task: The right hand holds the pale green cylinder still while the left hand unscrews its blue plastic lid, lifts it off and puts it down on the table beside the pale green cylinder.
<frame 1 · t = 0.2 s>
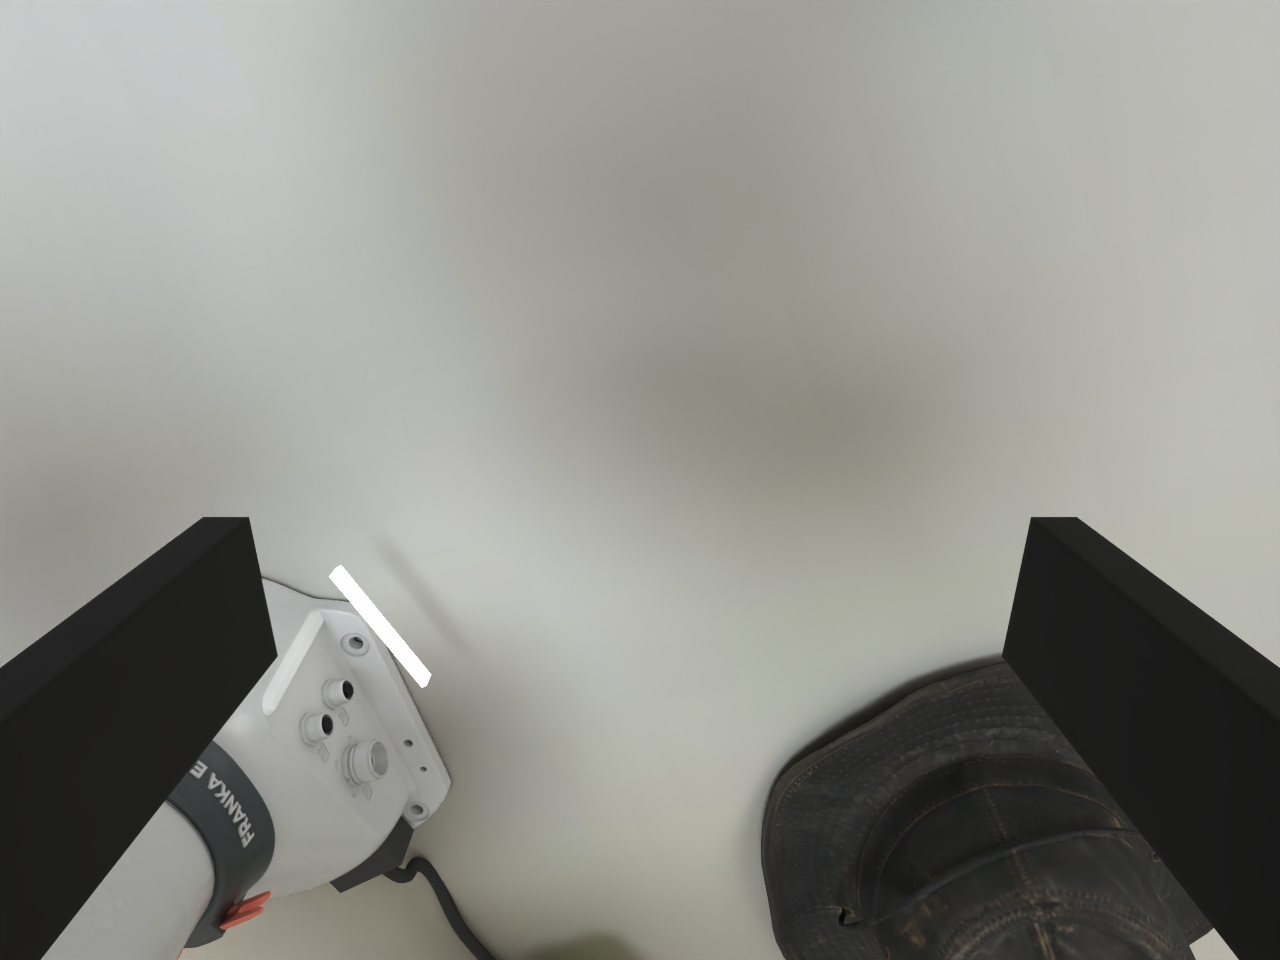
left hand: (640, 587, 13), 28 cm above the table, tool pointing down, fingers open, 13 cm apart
hat: (987, 860, 52), on the table
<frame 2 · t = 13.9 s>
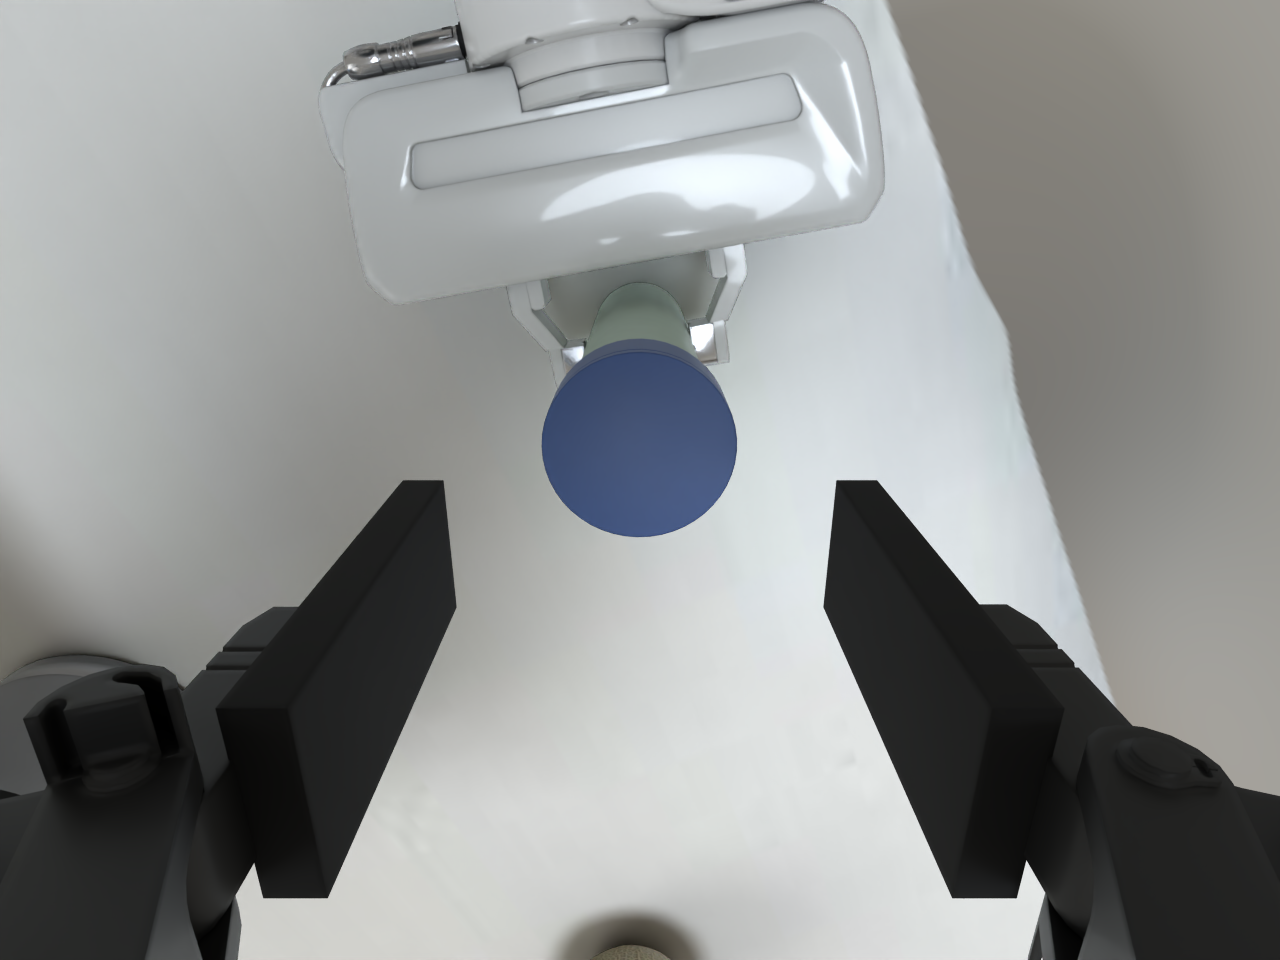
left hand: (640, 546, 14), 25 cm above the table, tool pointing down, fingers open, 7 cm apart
right hand: (644, 374, 32), fingers closed on pale green cylinder, 4 cm apart
lid: (639, 445, 20), point 18 cm above the table, screwed on, not yet turned
pale green cylinder: (640, 328, 37), on the table, touching right hand
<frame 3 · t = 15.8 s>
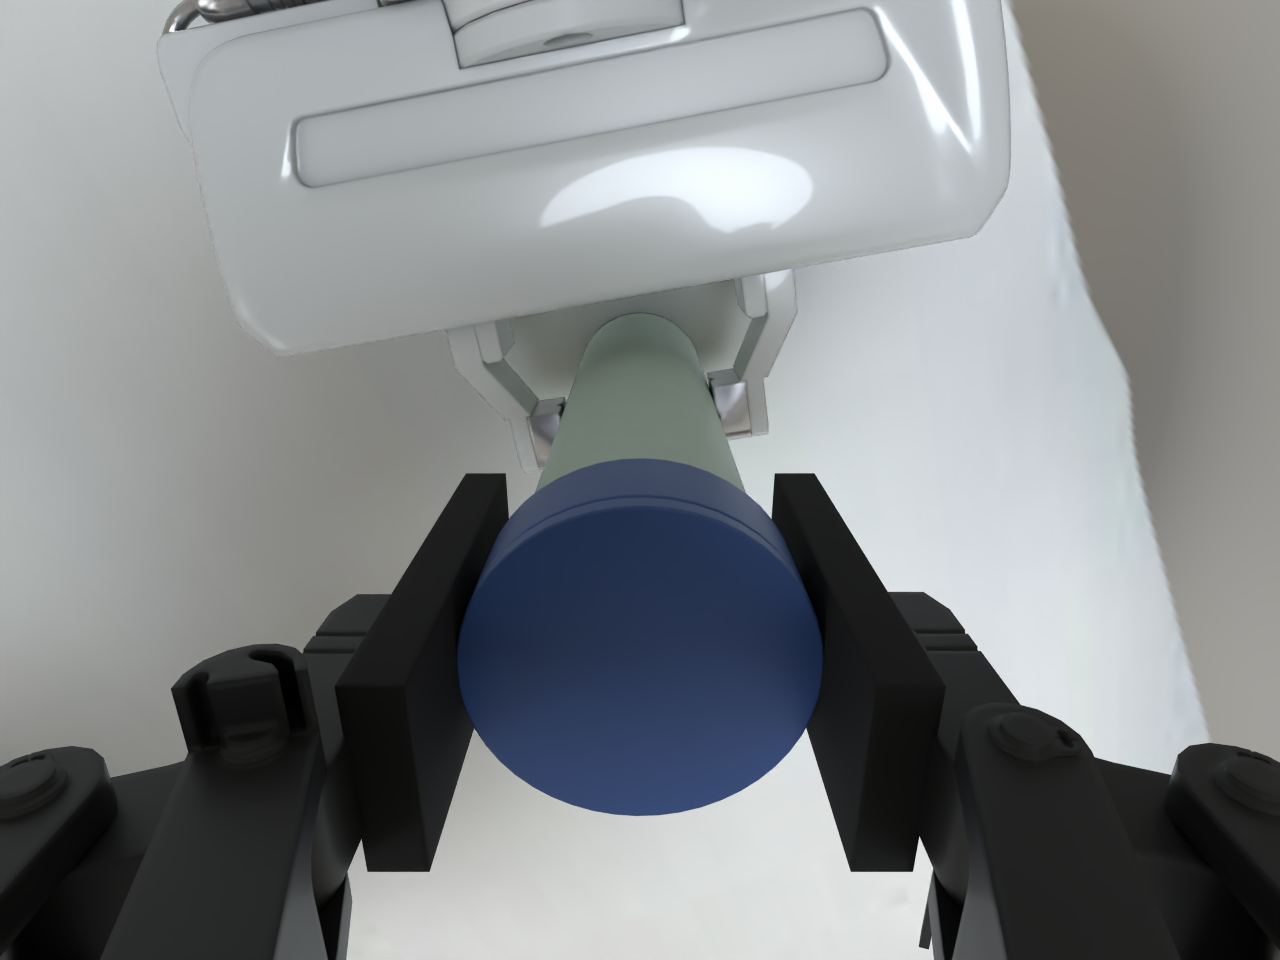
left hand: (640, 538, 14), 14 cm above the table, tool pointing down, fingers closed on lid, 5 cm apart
right hand: (646, 448, 22), fingers closed on pale green cylinder, 4 cm apart
lid: (640, 661, 11), point 18 cm above the table, screwed on, not yet turned, touching left hand
pale green cylinder: (640, 372, 28), on the table, touching right hand
when the left hand's fingers open (15 cm above the table, at t = 17.2 s): lid stays where it is, point 19 cm above the table.
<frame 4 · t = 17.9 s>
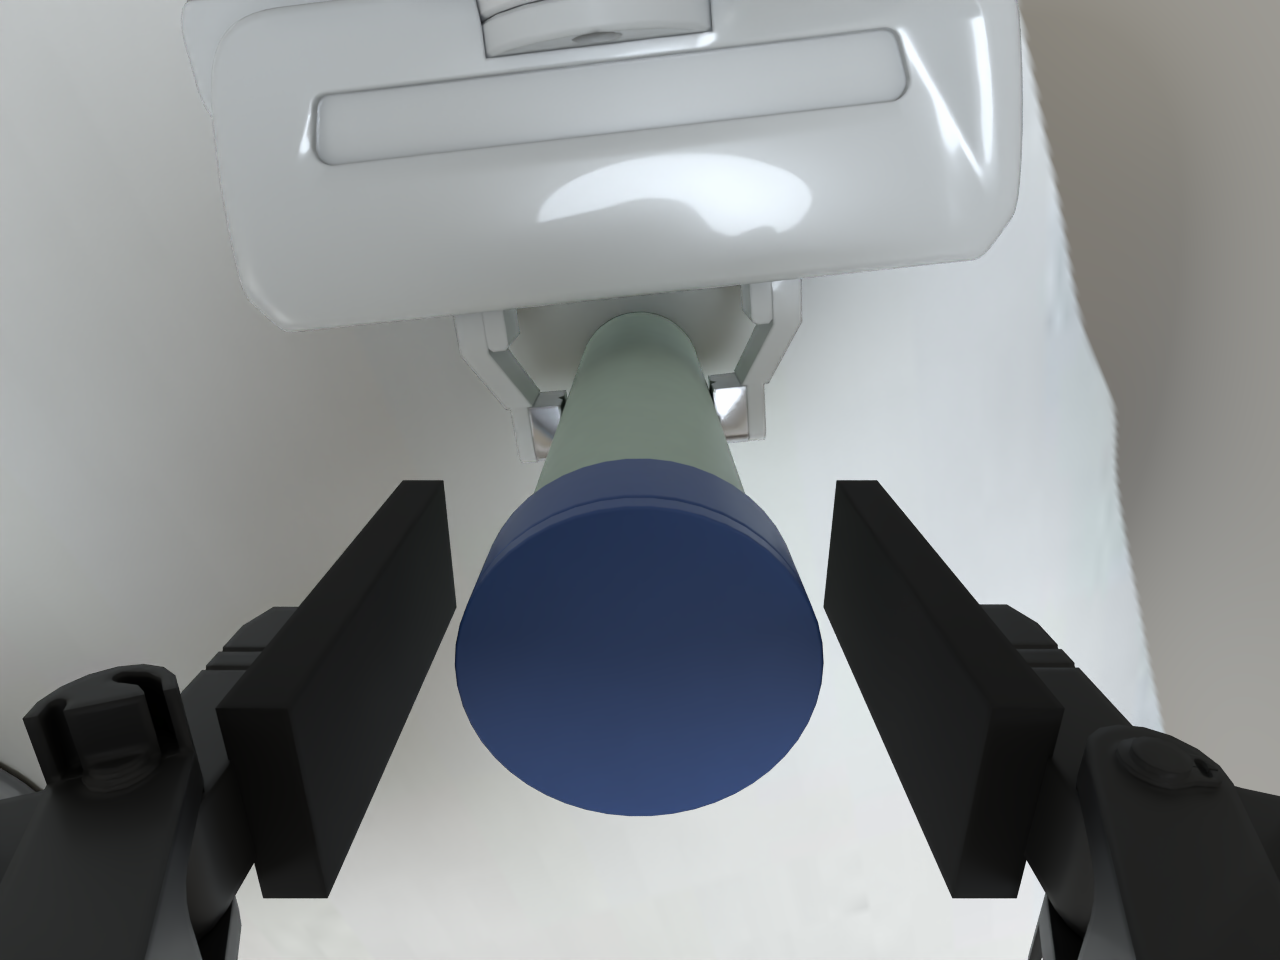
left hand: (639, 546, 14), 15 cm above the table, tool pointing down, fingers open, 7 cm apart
right hand: (644, 446, 23), fingers closed on pale green cylinder, 4 cm apart
lid: (639, 661, 11), point 19 cm above the table, turned 77° so far, risen 0.2 cm, still on its thread
pale green cylinder: (639, 371, 28), on the table, touching right hand
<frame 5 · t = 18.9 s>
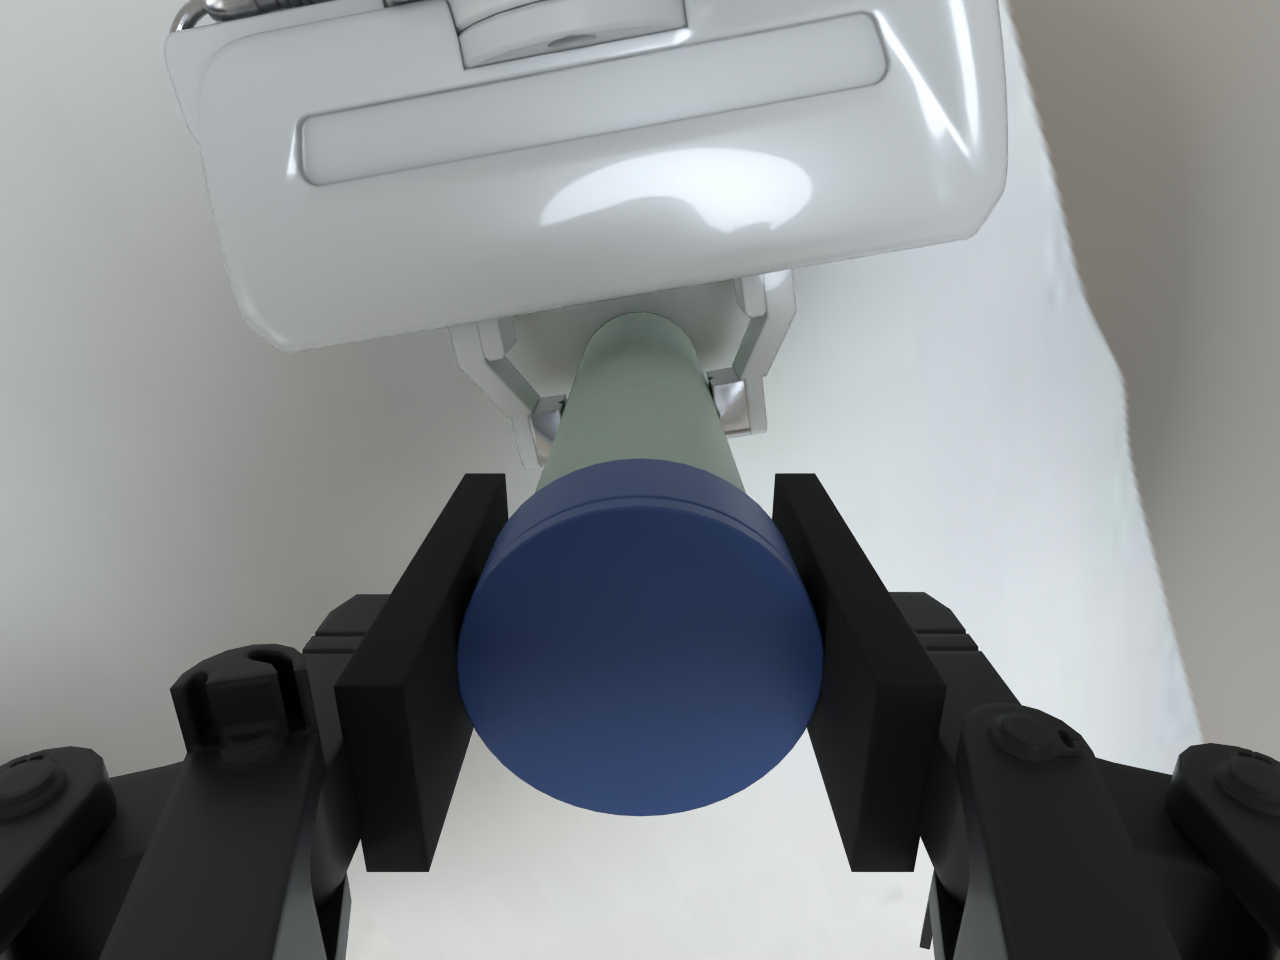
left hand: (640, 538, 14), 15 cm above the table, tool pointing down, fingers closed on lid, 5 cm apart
right hand: (646, 446, 23), fingers closed on pale green cylinder, 4 cm apart
lid: (640, 661, 11), point 19 cm above the table, turned 77° so far, risen 0.2 cm, still on its thread, touching left hand
pale green cylinder: (640, 371, 28), on the table, touching right hand
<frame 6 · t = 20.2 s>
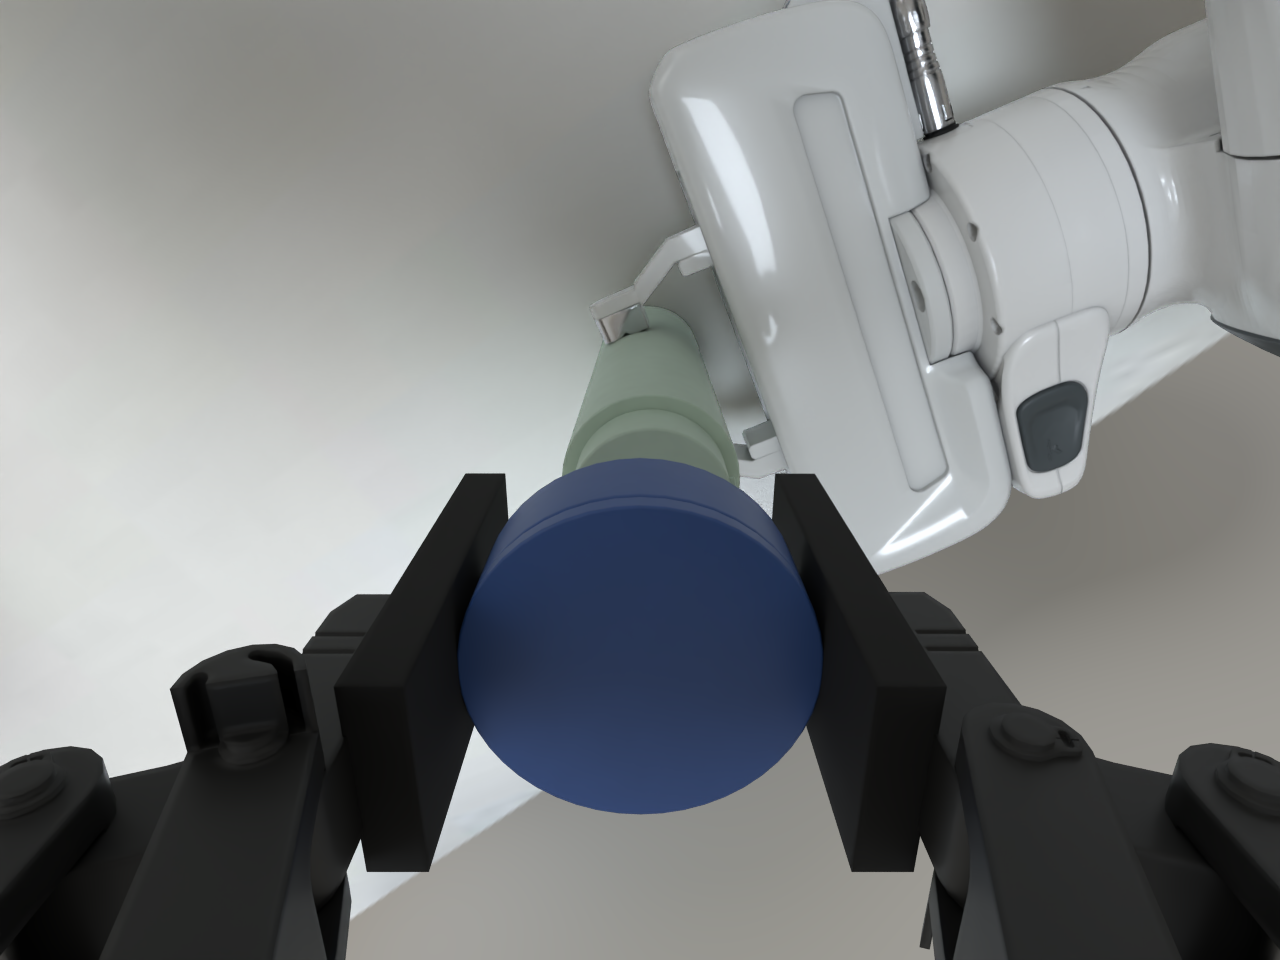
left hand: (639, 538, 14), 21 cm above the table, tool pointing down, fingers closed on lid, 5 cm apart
right hand: (628, 396, 28), fingers closed on pale green cylinder, 4 cm apart
lid: (640, 660, 11), point 25 cm above the table, off its thread, touching left hand
pale green cylinder: (649, 355, 34), on the table, touching right hand
when the left hand's fingers open (0 cm above the table, at t = 26.4 s): lid drops 3 cm, point 2 cm above the table.
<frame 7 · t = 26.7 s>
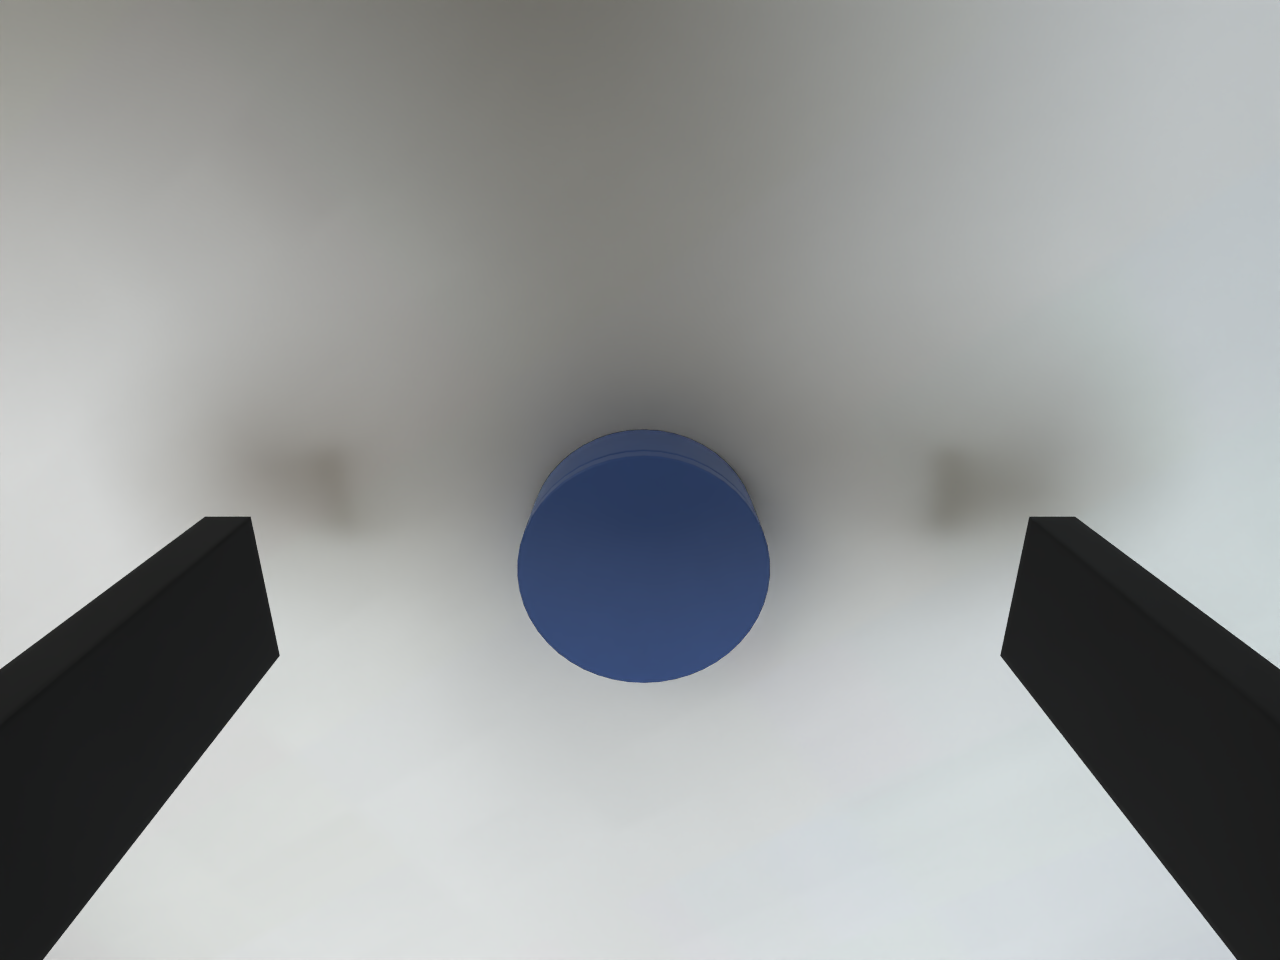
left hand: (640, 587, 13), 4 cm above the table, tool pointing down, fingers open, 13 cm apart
lid: (643, 568, 15), point 2 cm above the table, off its thread
when the right hand's fingers open (6 cm above the table, at t = 26.9 s): pale green cylinder stays where it is, on the table.
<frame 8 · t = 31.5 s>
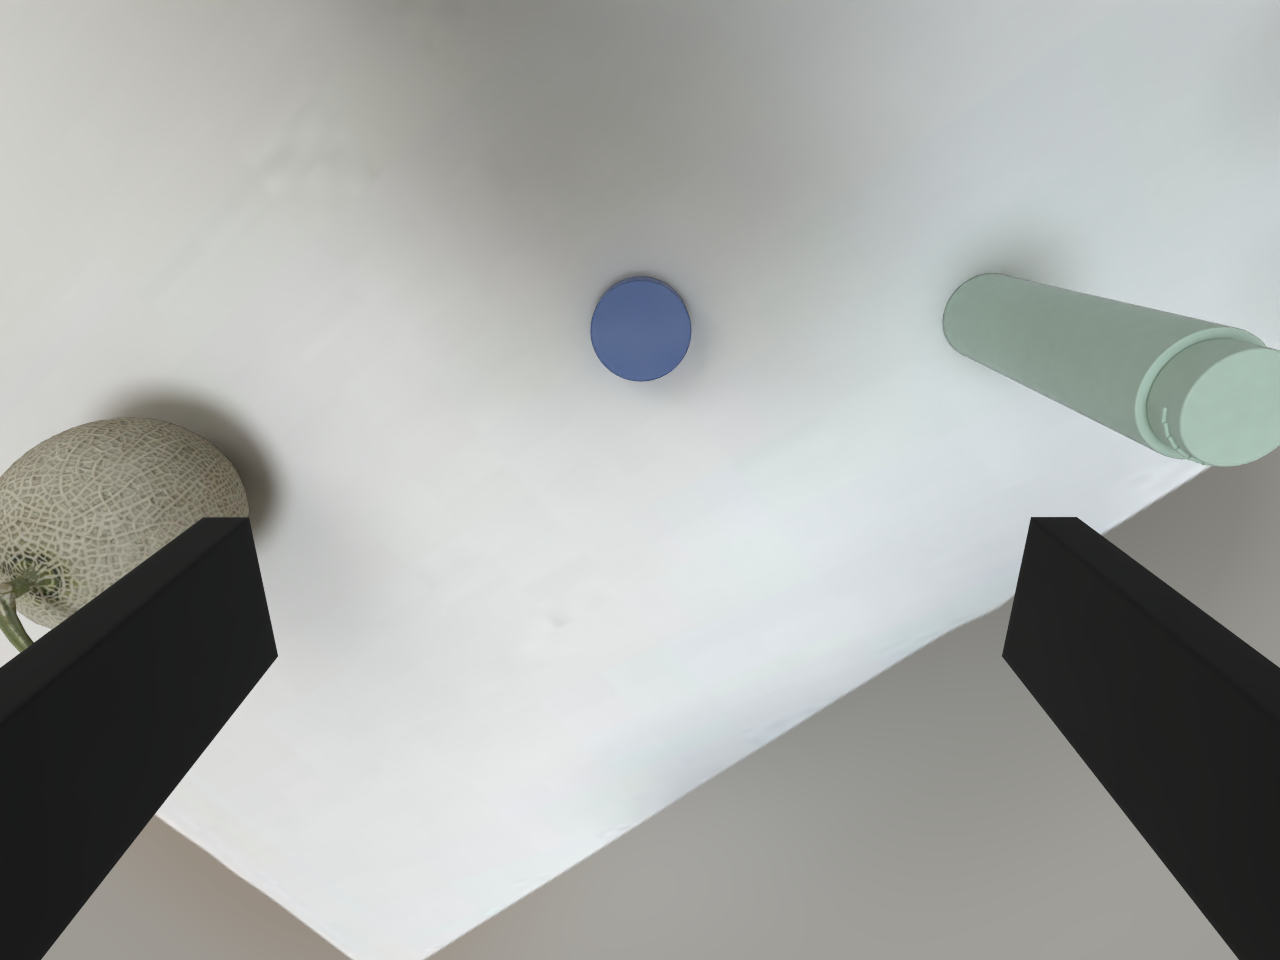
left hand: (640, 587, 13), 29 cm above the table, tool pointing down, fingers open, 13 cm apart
fruit: (185, 480, 43), on the table
lid: (640, 331, 38), point 2 cm above the table, off its thread
pale green cylinder: (984, 316, 40), on the table
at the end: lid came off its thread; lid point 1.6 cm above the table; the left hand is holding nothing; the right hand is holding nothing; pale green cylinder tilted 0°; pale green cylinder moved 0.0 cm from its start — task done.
